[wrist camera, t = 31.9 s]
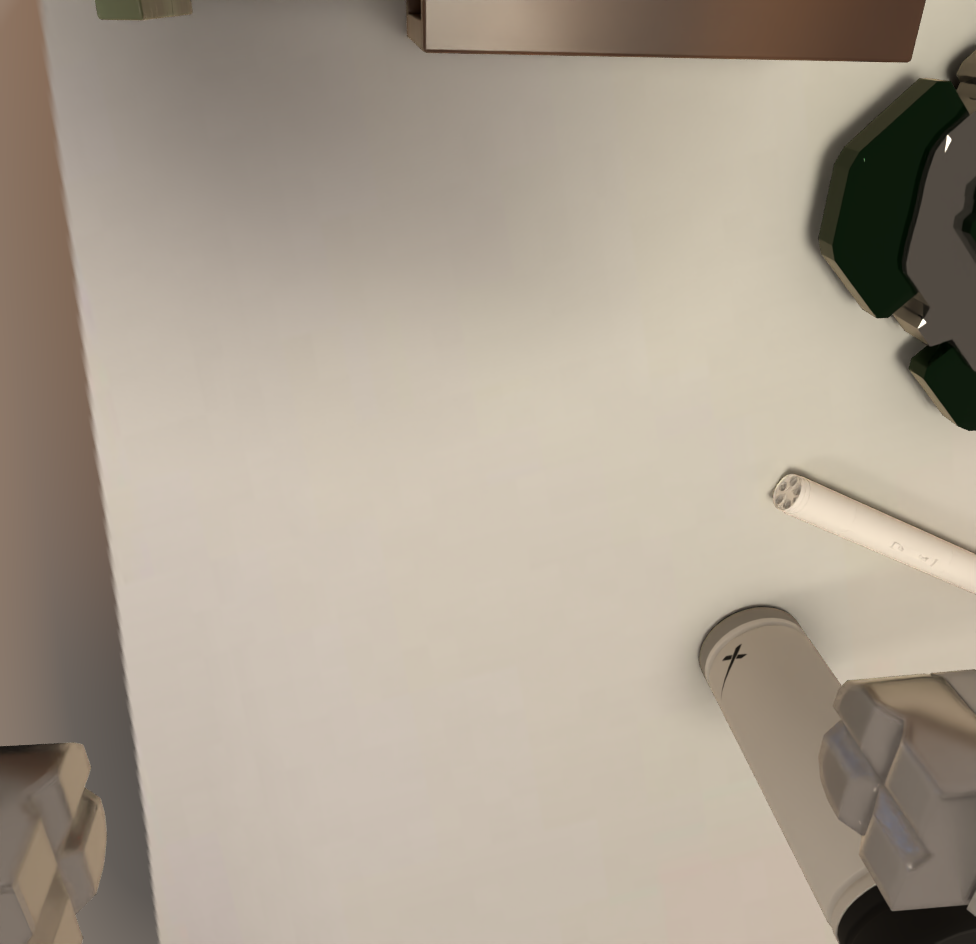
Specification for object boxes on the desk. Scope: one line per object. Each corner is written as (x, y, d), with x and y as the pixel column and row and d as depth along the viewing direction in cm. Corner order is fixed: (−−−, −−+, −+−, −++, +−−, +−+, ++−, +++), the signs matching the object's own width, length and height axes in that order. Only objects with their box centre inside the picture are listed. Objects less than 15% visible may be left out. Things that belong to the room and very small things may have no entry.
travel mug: (684, 625, 48) (865, 979, 31) (795, 591, 48) (1039, 928, 31) (699, 699, 51) (871, 1057, 34) (803, 667, 51) (1028, 1011, 34)
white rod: (1021, 570, 49) (1050, 595, 47) (997, 596, 50) (1024, 621, 48) (790, 465, 43) (811, 488, 41) (766, 497, 44) (785, 521, 42)
